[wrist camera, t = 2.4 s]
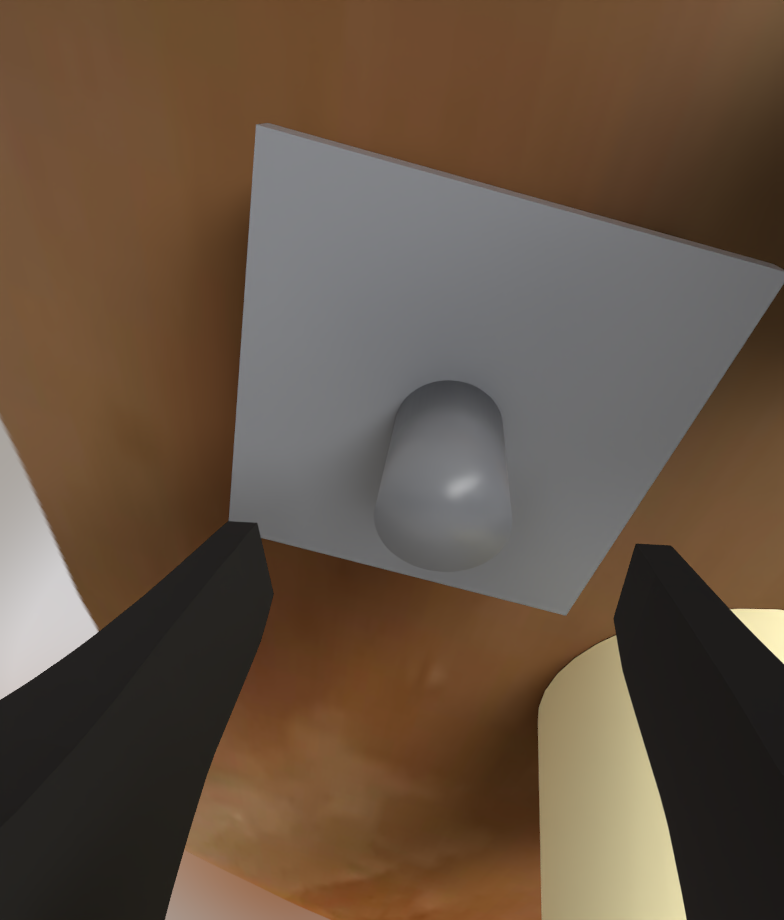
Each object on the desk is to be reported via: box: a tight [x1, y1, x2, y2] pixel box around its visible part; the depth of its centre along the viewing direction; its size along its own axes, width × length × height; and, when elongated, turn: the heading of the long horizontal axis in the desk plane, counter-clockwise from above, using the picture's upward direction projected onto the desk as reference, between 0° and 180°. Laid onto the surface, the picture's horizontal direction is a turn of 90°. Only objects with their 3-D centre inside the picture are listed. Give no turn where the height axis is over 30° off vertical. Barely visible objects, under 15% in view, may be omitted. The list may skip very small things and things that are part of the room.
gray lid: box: [229, 123, 784, 615], centre depth 14 cm, size 12×12×5 cm
